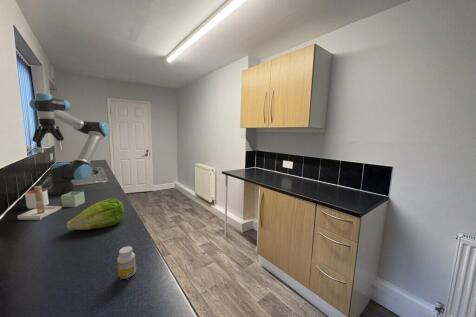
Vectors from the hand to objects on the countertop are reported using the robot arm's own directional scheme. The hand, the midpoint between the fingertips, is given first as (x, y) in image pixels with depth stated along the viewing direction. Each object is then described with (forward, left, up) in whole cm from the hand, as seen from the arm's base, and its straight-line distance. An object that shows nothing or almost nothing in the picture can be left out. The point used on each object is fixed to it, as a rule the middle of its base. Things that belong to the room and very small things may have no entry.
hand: (50, 151), depth 133 cm
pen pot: (+7, +17, -35) cm, 39 cm away
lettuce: (+35, +51, -35) cm, 71 cm away
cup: (+9, -4, -35) cm, 36 cm away
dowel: (+21, +9, -34) cm, 41 cm away
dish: (+21, +9, -35) cm, 42 cm away
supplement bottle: (+70, +84, -35) cm, 115 cm away
